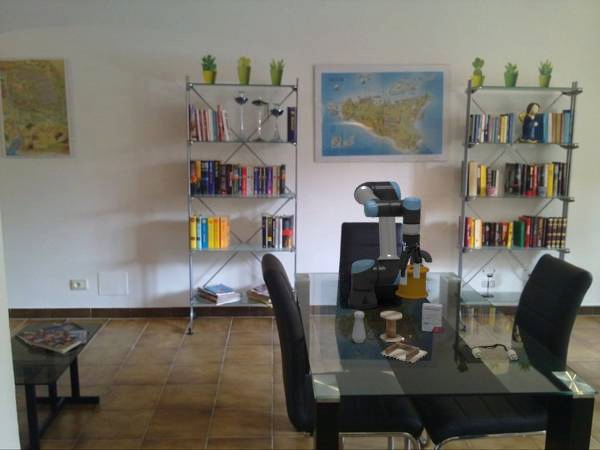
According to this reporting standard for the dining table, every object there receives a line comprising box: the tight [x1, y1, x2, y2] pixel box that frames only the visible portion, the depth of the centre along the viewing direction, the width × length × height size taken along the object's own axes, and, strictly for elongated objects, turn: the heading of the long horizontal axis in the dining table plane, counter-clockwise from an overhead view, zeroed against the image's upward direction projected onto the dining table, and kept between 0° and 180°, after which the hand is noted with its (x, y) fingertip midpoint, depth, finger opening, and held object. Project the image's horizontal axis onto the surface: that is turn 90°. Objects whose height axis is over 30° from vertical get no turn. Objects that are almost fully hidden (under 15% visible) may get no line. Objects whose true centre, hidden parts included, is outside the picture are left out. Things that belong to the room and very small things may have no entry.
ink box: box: [421, 302, 443, 333], centre depth 221 cm, size 9×5×12 cm, turn 71°
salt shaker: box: [351, 310, 367, 345], centre depth 207 cm, size 6×6×13 cm
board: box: [380, 342, 428, 364], centre depth 195 cm, size 14×12×3 cm
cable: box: [471, 343, 519, 361], centre depth 197 cm, size 16×16×4 cm
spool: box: [395, 264, 430, 300], centre depth 276 cm, size 18×18×15 cm
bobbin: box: [379, 310, 403, 343], centre depth 210 cm, size 9×9×11 cm
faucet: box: [409, 249, 433, 266], centre depth 302 cm, size 18×16×20 cm
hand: (410, 281), depth 217 cm, fingers open, 13 cm apart
